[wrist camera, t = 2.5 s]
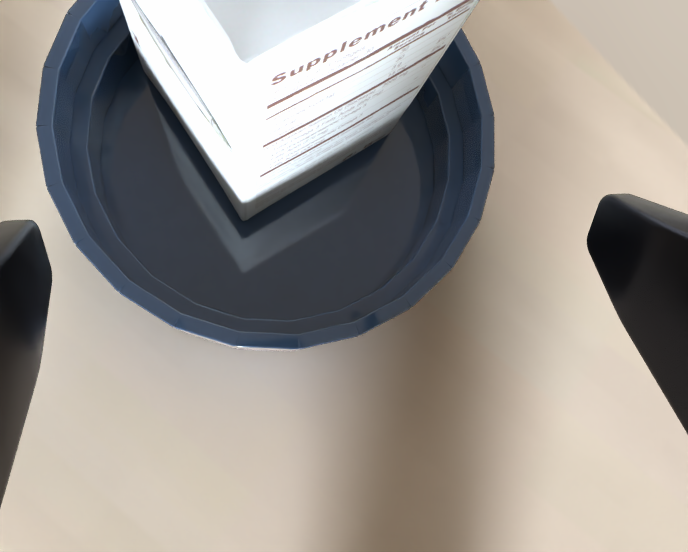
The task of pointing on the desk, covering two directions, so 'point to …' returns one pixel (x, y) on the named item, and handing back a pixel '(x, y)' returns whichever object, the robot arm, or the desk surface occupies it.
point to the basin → (269, 224)
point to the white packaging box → (288, 79)
